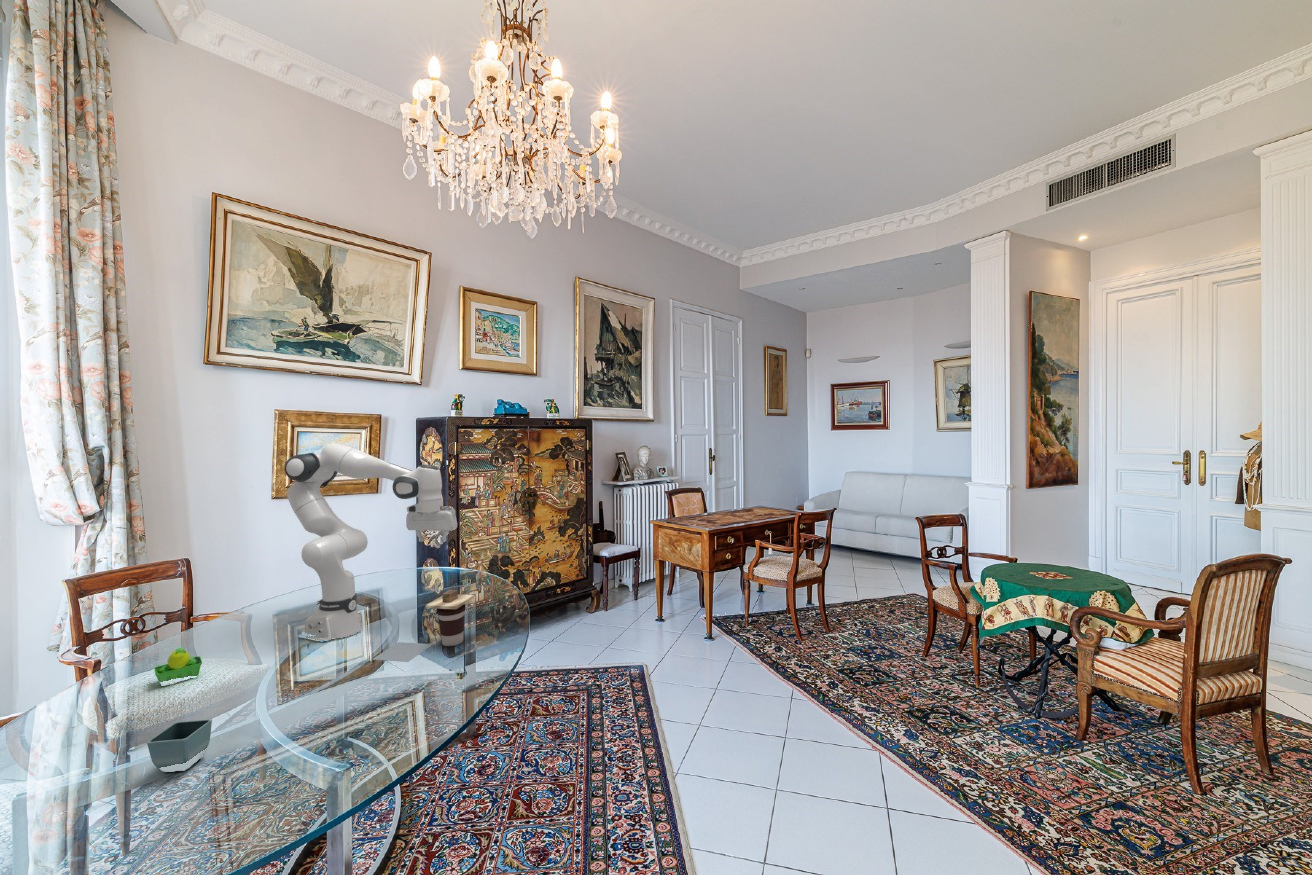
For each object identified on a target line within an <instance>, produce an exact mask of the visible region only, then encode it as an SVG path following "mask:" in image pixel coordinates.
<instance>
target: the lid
mask: <svg viewBox="0 0 1312 875" xmlns="http://www.w3.org/2000/svg"><path fill="white" fill-rule="evenodd" d="M458 592H459V591H458V589H448V590H446V591H445V592H443V593H442V594H441V596H439V597H437V598H435V599H433V600H432V601H429V603H426V604H425V609H458V608H459V607H461V606H462V605H464V604H465V605H466V604H467V603H469V602H470V601H471V600H473V599H475V595H474V594H459V593H458Z"/></svg>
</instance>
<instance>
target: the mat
mask: <svg viewBox="0 0 1312 875" xmlns="http://www.w3.org/2000/svg"><path fill="white" fill-rule="evenodd" d="M433 645H434V644H433V643H421V642H420V643H419V642H405V641H403V642H401V641H398V642H396V644H394V645H392V646H391V647H389V648H388V649H386V650H385V651H383V652H381V653H379V654H378V655H376V656H374V658H372V659H371V660H372V661H373V660H375V661H376V660H377V661H387V662H388V661H389V662H404V663H405V662H406V663H409V662H411V660H413V659H414V658H416V657H417V656H419V655H420V654H422V653H423V652H424V651H426V650H428V648H430V647H431V646H433Z"/></svg>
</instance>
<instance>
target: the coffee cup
mask: <svg viewBox="0 0 1312 875" xmlns="http://www.w3.org/2000/svg"><path fill="white" fill-rule="evenodd" d="M466 609H467V608H466V603H465V604H464V605H462V606H461V607H459V608H458V609H437V608H435V610H436V615H438V628H439V634H440V638H441V644H442V646H445V647H453V646H456V645H460V644H461V643H463V642H464V632H465V611H466Z"/></svg>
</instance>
